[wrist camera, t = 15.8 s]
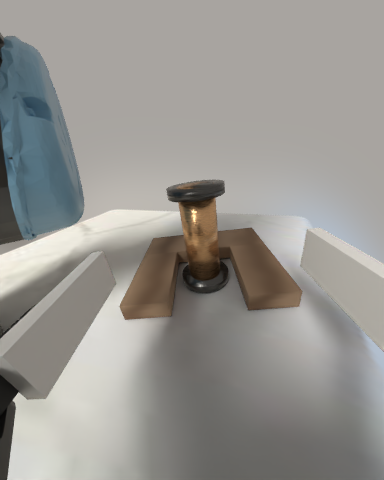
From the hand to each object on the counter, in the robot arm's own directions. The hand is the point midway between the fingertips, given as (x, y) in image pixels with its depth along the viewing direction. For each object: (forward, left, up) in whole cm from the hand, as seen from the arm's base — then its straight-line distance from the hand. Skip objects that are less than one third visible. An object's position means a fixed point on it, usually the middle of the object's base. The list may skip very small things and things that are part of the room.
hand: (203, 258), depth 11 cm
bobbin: (0, +9, -8) cm, 12 cm away
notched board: (0, +11, -8) cm, 14 cm away
